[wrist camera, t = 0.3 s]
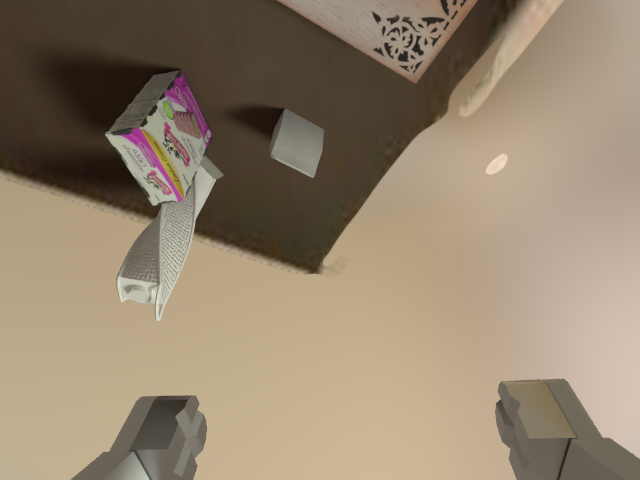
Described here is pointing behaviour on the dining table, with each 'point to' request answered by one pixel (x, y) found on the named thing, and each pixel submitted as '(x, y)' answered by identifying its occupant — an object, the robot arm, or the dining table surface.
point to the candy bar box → (162, 137)
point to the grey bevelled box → (297, 143)
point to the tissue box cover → (389, 27)
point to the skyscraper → (165, 245)
